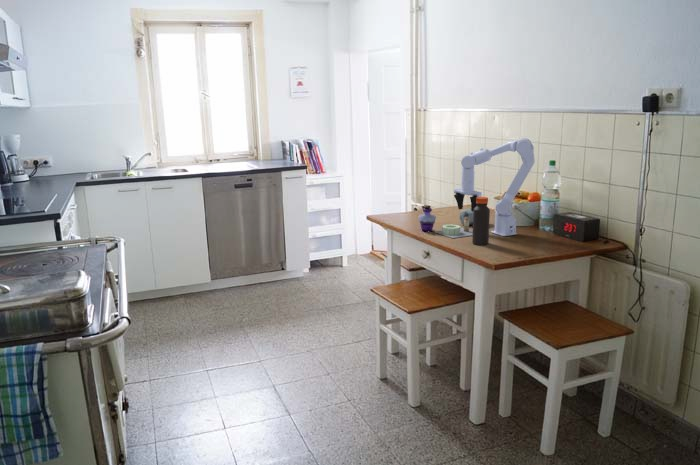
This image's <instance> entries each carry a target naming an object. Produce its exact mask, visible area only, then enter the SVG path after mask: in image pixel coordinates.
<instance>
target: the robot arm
mask: <svg viewBox="0 0 700 465" xmlns="http://www.w3.org/2000/svg"><path fill="white" fill-rule="evenodd" d="M534 148H535V147H534V145H533V143H532V141H531V140H530V139H529V138H527V137H526V138H524V137H523V138H521V139H516V140H512V141H508V142H506V143H504V144H501V145H499V146H496V147H494V148H492V149H488V148H480V150H478V151H476V152H470V153H469V154H467V155H465V156H464V157H463V158H462V159H461V163H460V164H461V166H462V167H461V186H460V187H461V188H455V189H453V192H454V194H453V196H454V199H455V201H456V204H457V207H458V210H463V208H464V199H465V196H470V197H469V199H470V204H471V205H470V206H471V207H470V208H471V211H472V212H473V210H474V208H475V207H476V206H477V204H476V197H482V191H478V190H475V166H478V165H482V164H483V163H487V162H489V161H491V159H492V157H494V156H497V155H500V154H504V153H506V152H513V153H515V152H517V153H518V155H519V156H520V158H521V160H522V163H521V165H520V166H519V169H518V171H517V172H516V174H515V176H514V177H513V180H512V181H511V183H510V185H509V187H508V188H507V190H506V191H505V194H504V195H503V197H502V198H500V200H499V201H498V202H497V203H496V205H495V211H496V212H495V214H494V216H495V217H494V230H491V231H490V230H489V233H492V234H496V235H498V236H499V235H500V236H502V237H507V236H513V235H514V236H515V235H518V233H517V219H516V217H515V216H513V214H512V212H511V209H512V205H513V202H514V199H515V197H516V195H517V194H518V192H519V190H520V189H521V188H522V185H523V184H524V182H525V180H526V178H527V177H528V175H529V173H530V172H531V170H532V168H533V166H534V165H535V162H536V161H535V153H534V152H535V151H534V150H535V149H534Z"/></svg>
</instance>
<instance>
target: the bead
mask: <svg viewBox="0 0 700 465" xmlns="http://www.w3.org/2000/svg"><path fill="white" fill-rule="evenodd" d="M460 228H461V226H460V225H458V224H443V225H442V226H441V231H442V233H443V234H447V235H457V234H460Z"/></svg>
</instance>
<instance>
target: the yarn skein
mask: <svg viewBox="0 0 700 465" xmlns="http://www.w3.org/2000/svg"><path fill="white" fill-rule="evenodd" d="M465 217H468V218H469V226H470V225H472V226H473V212H472V211H471V207H470V208H467V209H461V211H460V212H459V220H460V223H461V224H462V225H463V226H464V219H465Z"/></svg>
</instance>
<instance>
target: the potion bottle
mask: <svg viewBox="0 0 700 465" xmlns="http://www.w3.org/2000/svg"><path fill="white" fill-rule="evenodd" d="M432 211H433V208H431V205H428V204H427V205H424V206H423V207H422V212H423V214H419V215H418V222H419V224H420V230H422V231H421V232H424V231H429V232H433V229H434V226H435V225H434V224H435V223H436V218H437V216H436V215H435V214H431V212H432ZM429 232H428V233H429Z"/></svg>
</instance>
